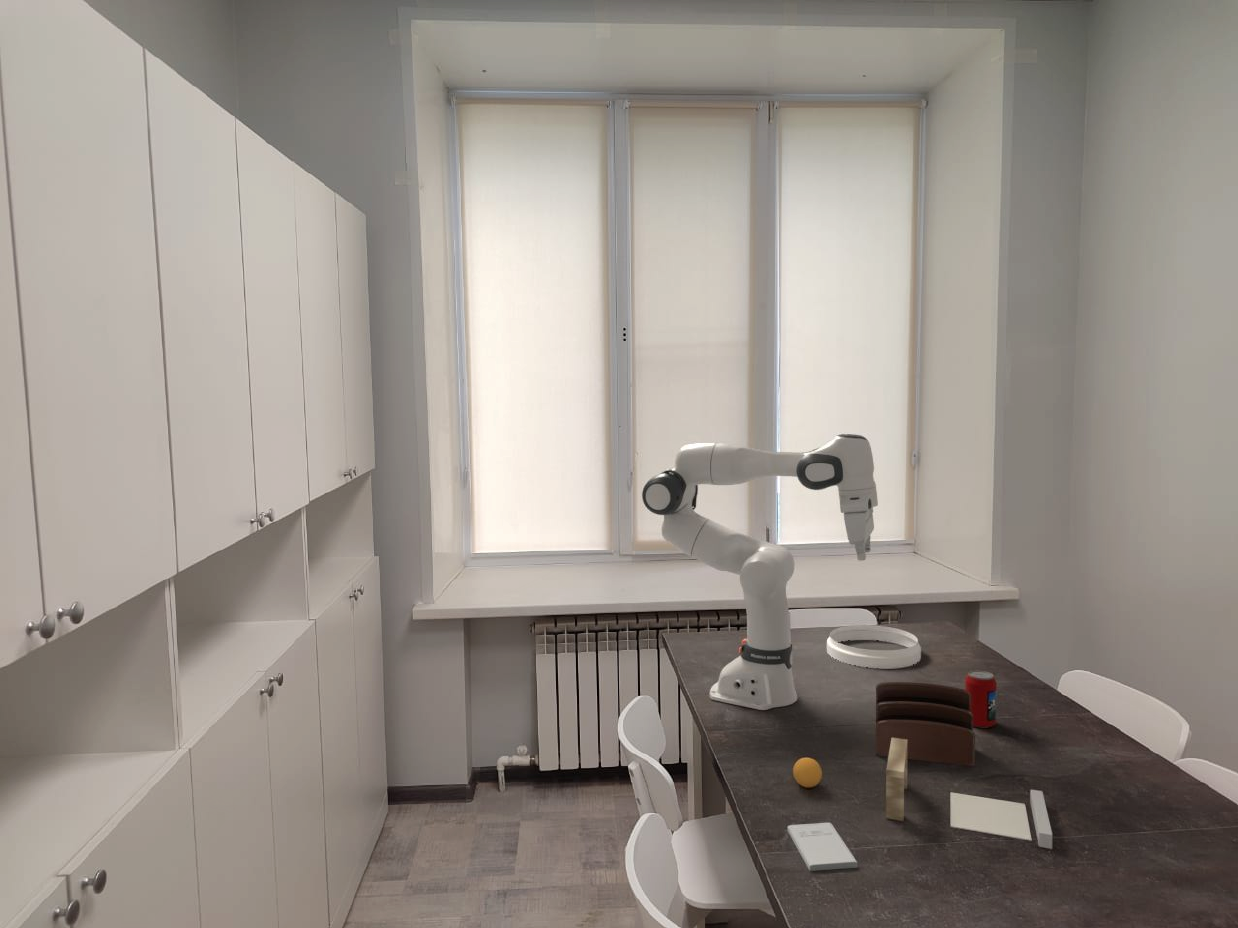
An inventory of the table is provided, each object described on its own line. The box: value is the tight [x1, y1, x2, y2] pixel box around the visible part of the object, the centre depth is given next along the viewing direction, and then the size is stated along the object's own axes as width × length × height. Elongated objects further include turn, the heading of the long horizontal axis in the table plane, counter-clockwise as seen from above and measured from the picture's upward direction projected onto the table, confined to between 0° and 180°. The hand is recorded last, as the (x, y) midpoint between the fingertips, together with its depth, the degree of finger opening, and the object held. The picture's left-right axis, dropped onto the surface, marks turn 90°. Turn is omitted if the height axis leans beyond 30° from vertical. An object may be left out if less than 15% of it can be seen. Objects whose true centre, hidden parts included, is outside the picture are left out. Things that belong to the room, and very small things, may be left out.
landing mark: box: [949, 791, 1033, 842], centre depth 146 cm, size 13×13×1 cm
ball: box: [792, 757, 823, 788], centre depth 158 cm, size 6×6×6 cm
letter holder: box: [875, 681, 976, 768], centre depth 172 cm, size 10×20×14 cm, turn 71°
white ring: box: [826, 624, 922, 670], centre depth 238 cm, size 27×27×5 cm
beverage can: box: [964, 669, 998, 729], centre depth 186 cm, size 7×7×12 cm
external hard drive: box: [787, 822, 858, 872], centre depth 137 cm, size 2×8×12 cm
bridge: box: [885, 738, 908, 822], centre depth 152 cm, size 3×15×9 cm, turn 157°
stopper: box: [1029, 789, 1053, 850], centre depth 142 cm, size 2×16×2 cm, turn 157°
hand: (864, 555), depth 193 cm, fingers open, 8 cm apart
